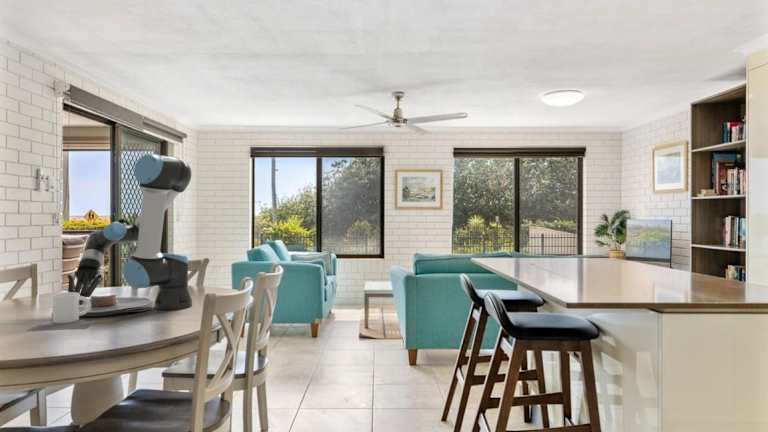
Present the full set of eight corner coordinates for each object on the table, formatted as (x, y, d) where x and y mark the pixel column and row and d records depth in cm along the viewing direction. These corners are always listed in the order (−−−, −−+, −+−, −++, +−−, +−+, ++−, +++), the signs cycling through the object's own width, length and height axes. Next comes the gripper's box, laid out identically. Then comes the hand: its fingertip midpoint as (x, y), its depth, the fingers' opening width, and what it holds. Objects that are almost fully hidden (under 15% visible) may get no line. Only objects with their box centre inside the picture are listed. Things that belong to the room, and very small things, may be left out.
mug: (89, 316, 188) (89, 290, 187) (91, 320, 181) (91, 293, 181) (52, 320, 180) (52, 293, 180) (53, 325, 174) (53, 297, 174)
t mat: (101, 320, 183) (101, 319, 183) (86, 329, 170) (86, 328, 170) (46, 322, 180) (46, 321, 180) (26, 332, 166) (26, 330, 166)
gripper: (110, 267, 204) (94, 316, 189) (76, 268, 202) (58, 317, 186) (104, 257, 199) (88, 306, 183) (70, 257, 197) (50, 307, 181)
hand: (73, 311), depth 185 cm, fingers closed
